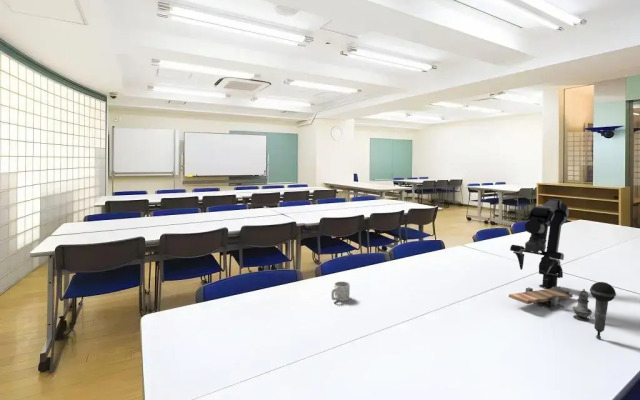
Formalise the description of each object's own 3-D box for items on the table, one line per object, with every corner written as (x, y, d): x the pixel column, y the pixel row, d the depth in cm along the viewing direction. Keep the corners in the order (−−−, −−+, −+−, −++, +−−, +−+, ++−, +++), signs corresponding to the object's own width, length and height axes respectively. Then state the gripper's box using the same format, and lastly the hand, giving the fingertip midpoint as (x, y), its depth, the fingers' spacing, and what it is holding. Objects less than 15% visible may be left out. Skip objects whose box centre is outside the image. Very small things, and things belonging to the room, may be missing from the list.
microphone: (584, 331, 121) (589, 277, 119) (610, 337, 117) (615, 281, 115) (586, 340, 115) (591, 283, 113) (612, 346, 111) (618, 287, 109)
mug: (341, 294, 156) (341, 280, 155) (352, 298, 151) (352, 284, 150) (326, 300, 149) (326, 286, 148) (337, 305, 144) (337, 290, 143)
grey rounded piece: (568, 315, 134) (570, 286, 132) (582, 314, 134) (584, 285, 133) (580, 322, 128) (583, 291, 127) (595, 321, 128) (598, 291, 127)
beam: (553, 290, 156) (553, 285, 156) (572, 296, 149) (572, 291, 149) (508, 297, 142) (509, 291, 142) (527, 304, 135) (528, 298, 135)
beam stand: (530, 295, 154) (531, 285, 153) (563, 307, 141) (564, 296, 141) (519, 298, 150) (519, 288, 150) (552, 310, 138) (553, 300, 137)
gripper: (508, 230, 146) (503, 266, 145) (559, 237, 132) (554, 277, 132) (517, 233, 154) (511, 267, 153) (566, 240, 140) (561, 277, 139)
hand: (533, 272), depth 144 cm, fingers open, 9 cm apart
